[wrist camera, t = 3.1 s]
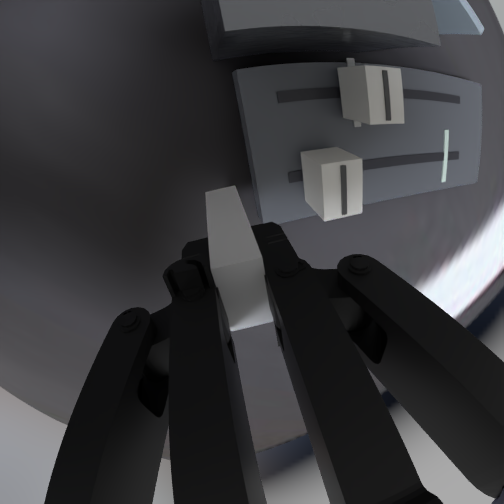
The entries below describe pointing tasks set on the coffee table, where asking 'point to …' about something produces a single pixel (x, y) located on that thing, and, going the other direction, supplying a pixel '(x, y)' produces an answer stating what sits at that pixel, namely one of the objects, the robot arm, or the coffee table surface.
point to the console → (354, 134)
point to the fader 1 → (333, 182)
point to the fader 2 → (372, 94)
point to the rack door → (456, 17)
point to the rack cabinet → (316, 26)
